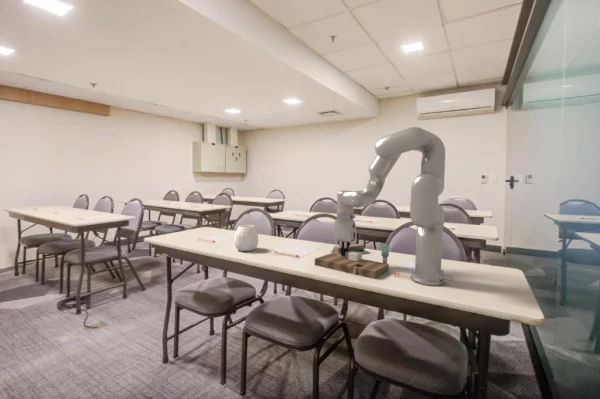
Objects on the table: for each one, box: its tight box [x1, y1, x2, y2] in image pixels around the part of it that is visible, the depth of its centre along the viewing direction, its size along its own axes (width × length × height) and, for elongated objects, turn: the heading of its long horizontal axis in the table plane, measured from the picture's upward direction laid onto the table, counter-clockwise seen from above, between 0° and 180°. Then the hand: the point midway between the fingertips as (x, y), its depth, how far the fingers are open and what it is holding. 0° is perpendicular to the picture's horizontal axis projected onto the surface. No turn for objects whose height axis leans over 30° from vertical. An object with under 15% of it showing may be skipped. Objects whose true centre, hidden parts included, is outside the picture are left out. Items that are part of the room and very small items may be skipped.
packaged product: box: [330, 243, 369, 255], centre depth 165 cm, size 18×5×10 cm
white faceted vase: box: [234, 224, 259, 252], centre depth 170 cm, size 13×13×14 cm
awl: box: [380, 243, 390, 264], centre depth 139 cm, size 3×3×10 cm
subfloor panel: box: [314, 252, 390, 280], centre depth 137 cm, size 30×15×3 cm, turn 51°
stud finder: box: [345, 251, 363, 261], centre depth 140 cm, size 6×5×3 cm
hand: (344, 255), depth 143 cm, fingers closed
